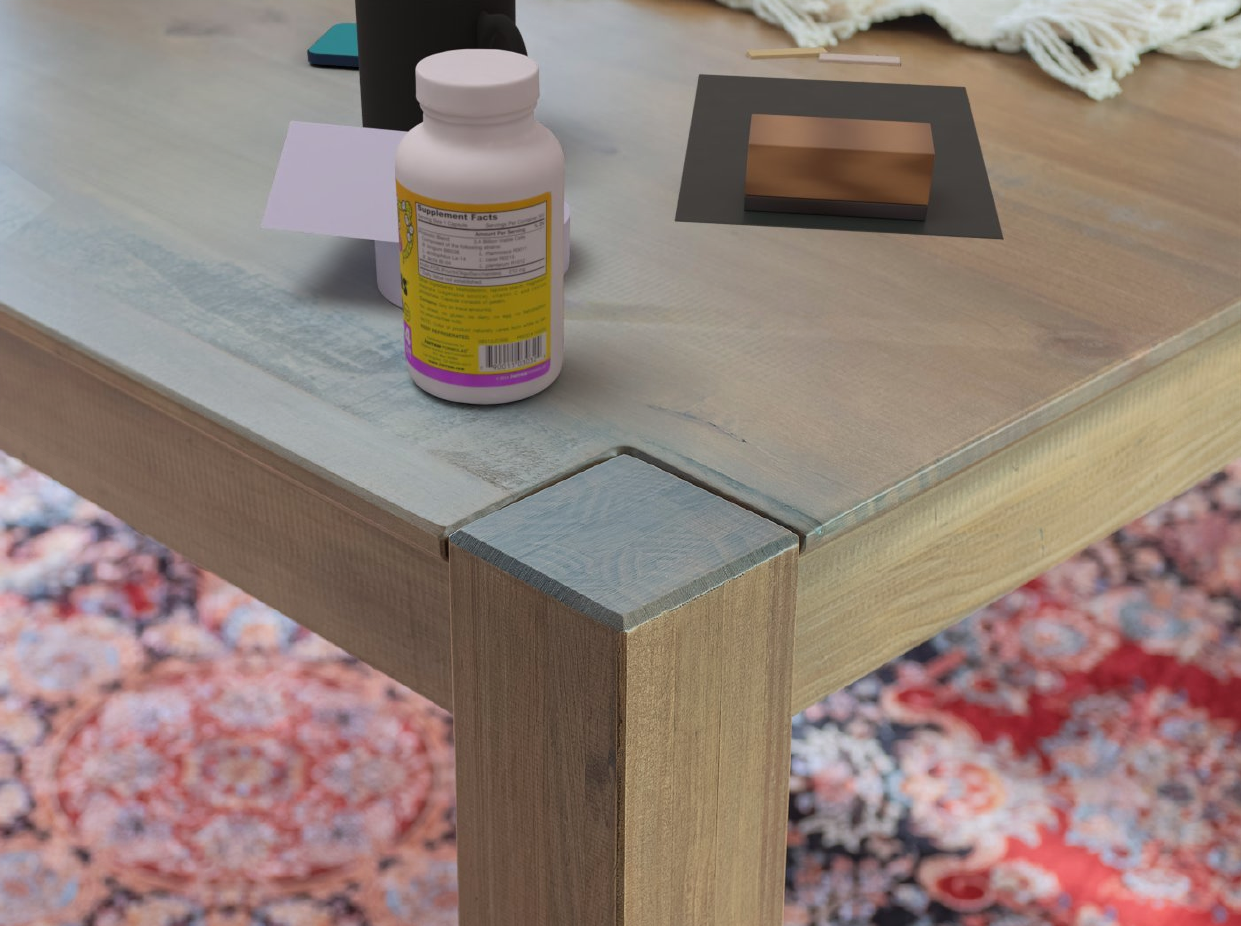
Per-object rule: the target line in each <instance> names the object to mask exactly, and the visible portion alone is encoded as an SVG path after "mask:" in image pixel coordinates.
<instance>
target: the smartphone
mask: <svg viewBox="0 0 1241 926" xmlns="http://www.w3.org/2000/svg"><path fill="white" fill-rule="evenodd" d="M306 53H307V62H308V63H310V64H311V65H320V66H321V65H322V66H323V65H324V66H337V67H339V66H340V67H354V68H359V60H358V43H357V26H356V22H340V23H336V24H334V25H332V26H331V27H330V28H329V29H328V30H327V31H326V32H325V33H323V35H321V37H319V39H317V40H316V42H314V43H313V44H312V45H311V46H310V47H309V48H308V49H307V50H306Z"/></svg>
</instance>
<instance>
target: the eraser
mask: <svg viewBox="0 0 1241 926" xmlns="http://www.w3.org/2000/svg"><path fill="white" fill-rule="evenodd" d="M934 159H935V151H934V144H933V138H932V131H931V125H930V123H915V122H896V121H877V120H858V119H839V118H821V117H802V116H783V115H764V114H752V117H751V126H750V135H749V144H748V158H747V171H746V184H745V198H744V210H745V211H763V212H780V213H797V214H814V215H831V216H849V217H866V218H883V219H900V220H917V221H925V220H926V215H927V208H928V206H927V205H928V201H929V194H930V187H931V180H932V173H933V166H934Z"/></svg>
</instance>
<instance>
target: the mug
mask: <svg viewBox="0 0 1241 926" xmlns="http://www.w3.org/2000/svg"><path fill="white" fill-rule="evenodd" d="M516 4H517V3H516V0H354V6H355V7H354V8H355V9H354V10H355V23H356V26H357V43H358V60H359V67H358V73H359V74H358V76H359V89H360V92H359V93H360V109H361V120H362V121H361V125H362V126H361V127H363V128H374V129H384V130H395V131H405V132H409V131H410V130H411V129H412V128H414V127H415V126H417V125H418V124H420V123H422V122H423V112H424V111H423V110H422V109H421V107H420V103H419V102H418V100H417V98H416V66H417V64H418V63H419V62H420V61H421V60H423V59H424V58H426V57H428V56H431V55H434V54H438V53H442V52H446V51H452V50H462V49H496V50H504V51H510V52H515V53H518V54H522V55H525V56H527V57H529V55H528V51H527V47H526V43H525V40H524V38H523V35H522V33H521V31H520V30H519V29H520V28H519V27H518V25H517V19H516V17H517V14H516V13H517V11H516V10H517V7H516V6H517V5H516Z"/></svg>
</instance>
